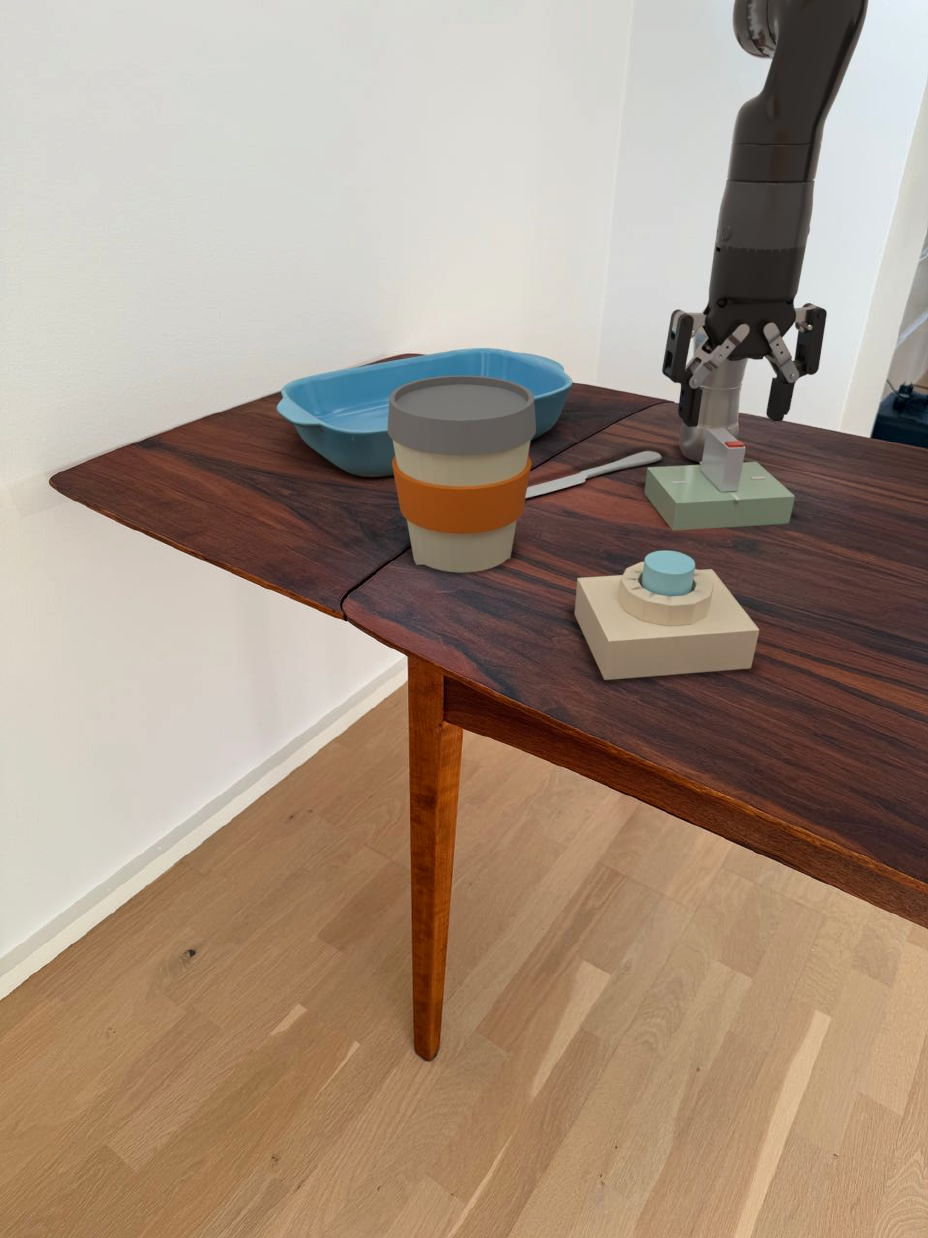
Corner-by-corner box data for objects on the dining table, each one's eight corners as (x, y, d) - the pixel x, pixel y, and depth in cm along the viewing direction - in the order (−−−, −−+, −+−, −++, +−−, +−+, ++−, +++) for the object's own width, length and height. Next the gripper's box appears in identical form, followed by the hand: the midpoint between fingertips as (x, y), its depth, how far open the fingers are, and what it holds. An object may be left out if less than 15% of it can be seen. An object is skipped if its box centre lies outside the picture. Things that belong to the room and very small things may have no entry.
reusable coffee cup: (558, 556, 78) (568, 396, 70) (460, 606, 71) (459, 433, 63) (463, 514, 86) (463, 366, 78) (366, 555, 78) (354, 395, 70)
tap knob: (700, 470, 88) (707, 426, 85) (716, 469, 88) (724, 425, 85) (720, 492, 83) (728, 445, 81) (738, 491, 83) (746, 445, 81)
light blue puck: (681, 572, 64) (685, 548, 63) (698, 596, 61) (702, 571, 60) (635, 575, 64) (638, 551, 63) (650, 600, 61) (653, 575, 60)
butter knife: (668, 456, 98) (650, 449, 100) (497, 504, 87) (480, 495, 89) (667, 460, 98) (649, 452, 100) (496, 508, 87) (480, 498, 89)
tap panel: (750, 486, 92) (755, 458, 90) (790, 525, 84) (797, 496, 82) (642, 492, 91) (646, 464, 89) (673, 532, 82) (677, 502, 81)
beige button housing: (704, 613, 70) (715, 548, 67) (749, 677, 62) (764, 608, 59) (573, 622, 69) (578, 557, 65) (603, 689, 61) (611, 619, 58)
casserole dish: (332, 504, 88) (325, 438, 84) (253, 440, 104) (245, 382, 100) (604, 436, 105) (609, 378, 101) (501, 390, 121) (502, 338, 117)
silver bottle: (709, 474, 95) (740, 285, 84) (663, 456, 99) (687, 274, 88) (746, 461, 98) (780, 277, 87) (700, 444, 102) (727, 268, 92)
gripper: (816, 229, 77) (783, 405, 85) (666, 235, 75) (647, 414, 84) (861, 241, 71) (821, 430, 79) (698, 247, 69) (674, 439, 77)
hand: (731, 421), depth 81 cm, fingers open, 8 cm apart
